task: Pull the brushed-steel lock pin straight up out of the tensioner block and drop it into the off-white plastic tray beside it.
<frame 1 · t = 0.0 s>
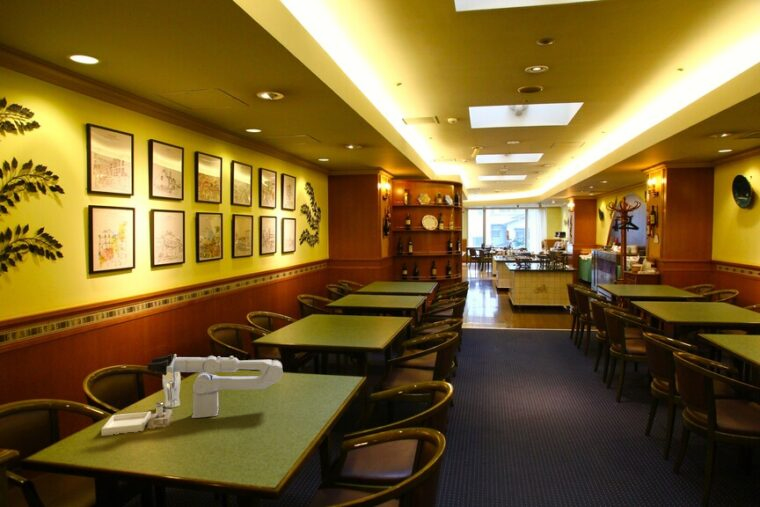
hand: (150, 364, 184), 22 cm above the table, tool horizontal, fingers open, 7 cm apart
tray: (127, 426, 178), on the table
lock pin: (159, 424, 180), resting in tensioner block
beer glass: (172, 405, 199), on the table
tensioner block: (159, 423, 180), on the table
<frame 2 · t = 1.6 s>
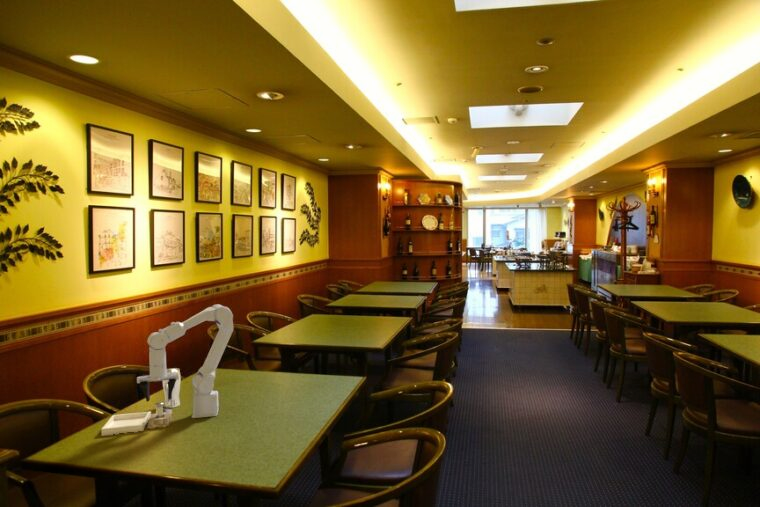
hand: (159, 399, 179), 9 cm above the table, tool pointing down, fingers open, 7 cm apart
nothing on the table moved.
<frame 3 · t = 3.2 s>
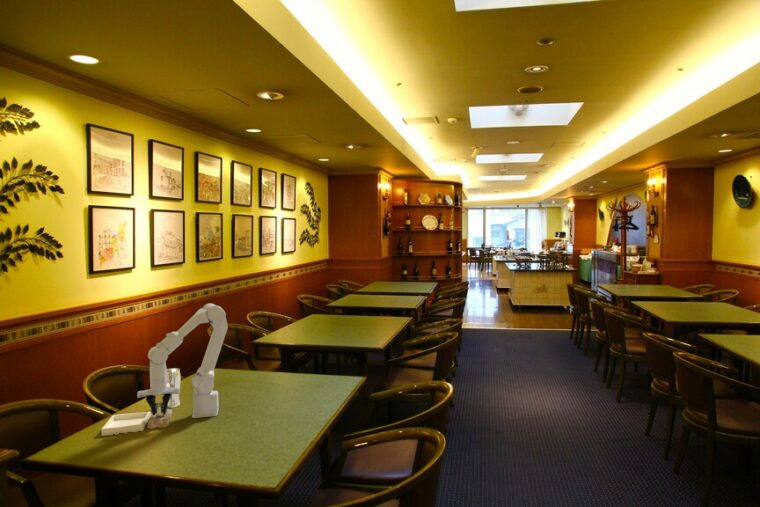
hand: (159, 413, 180), 4 cm above the table, tool pointing down, fingers closed on lock pin, 3 cm apart
lock pin: (159, 424, 180), resting in tensioner block, touching gripper
everything else where it was.
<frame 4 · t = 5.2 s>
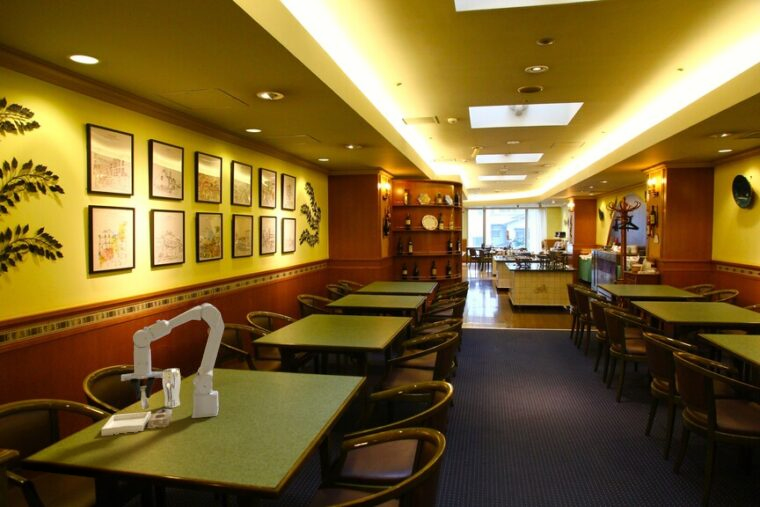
hand: (143, 397, 178), 11 cm above the table, tool pointing down, fingers closed on lock pin, 3 cm apart
lock pin: (145, 408, 179), point 7 cm above the table, touching gripper
everything else where it was.
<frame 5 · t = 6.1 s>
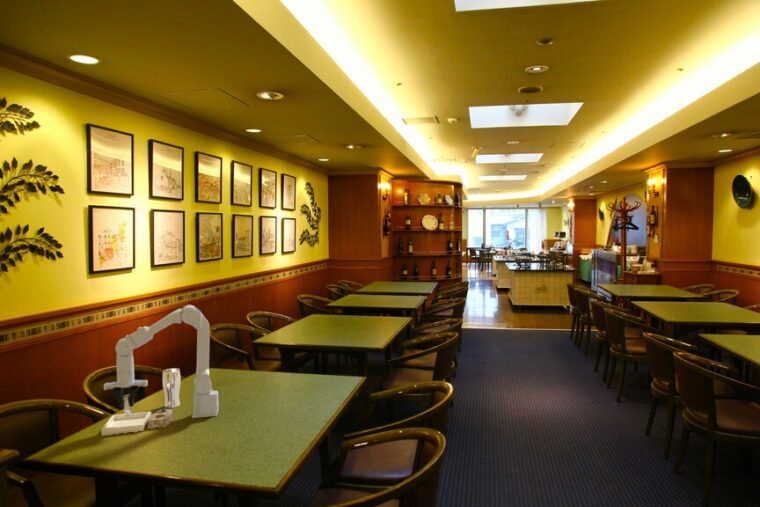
hand: (126, 406, 178), 8 cm above the table, tool pointing down, fingers closed on lock pin, 3 cm apart
lock pin: (129, 416, 178), point 4 cm above the table, touching gripper
everything else where it was.
when the fingers open (6 cm above the table, at t = 7.0 s): lock pin drops 2 cm, resting on tray.
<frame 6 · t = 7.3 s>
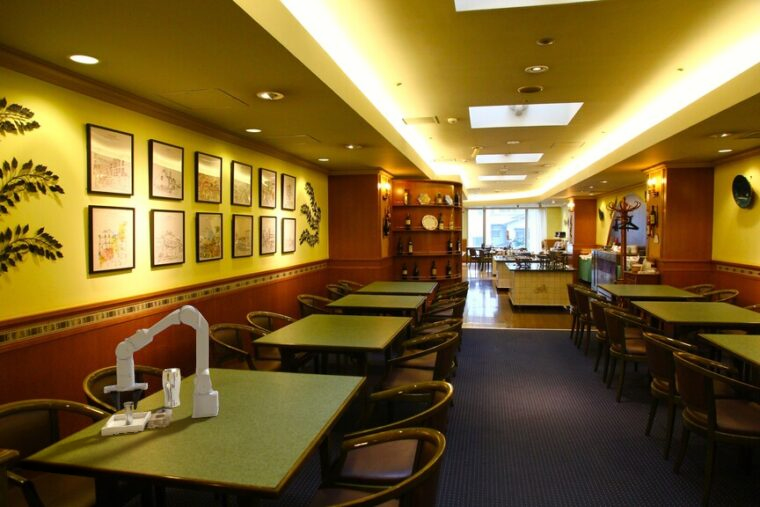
hand: (126, 409, 178), 6 cm above the table, tool pointing down, fingers open, 5 cm apart
lock pin: (129, 424, 178), point 1 cm above the table, touching tray
everything else where it was.
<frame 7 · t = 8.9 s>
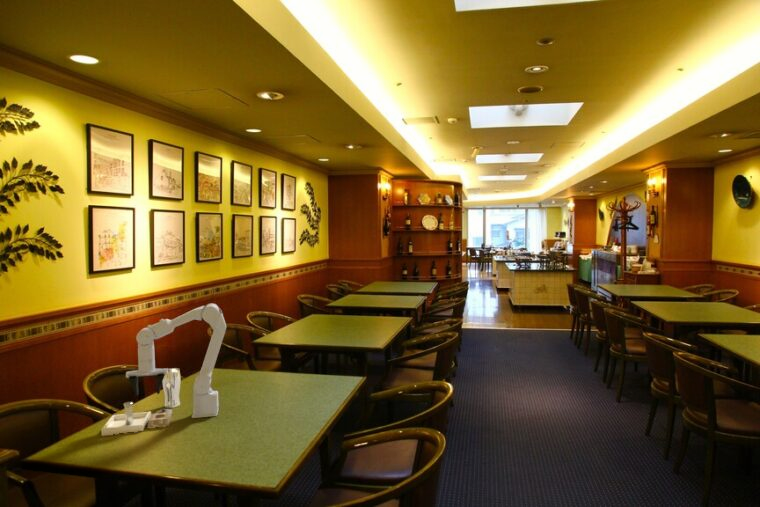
hand: (147, 394, 183), 10 cm above the table, tool pointing down, fingers open, 7 cm apart
nothing on the table moved.
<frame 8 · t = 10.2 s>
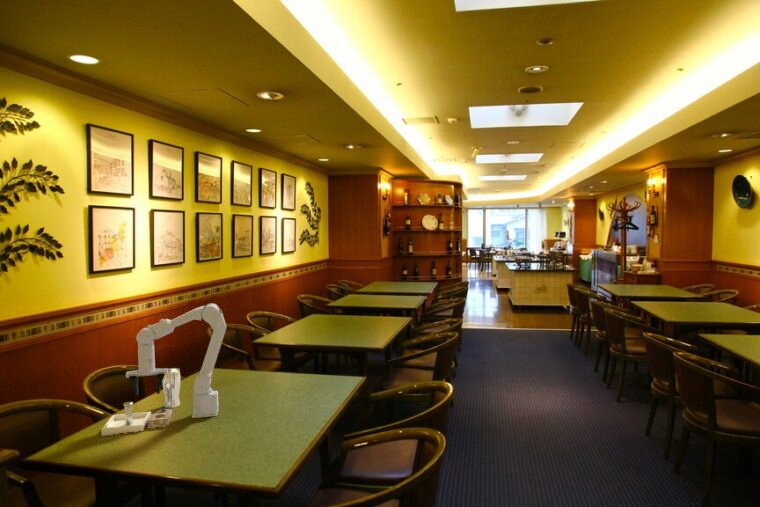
hand: (147, 394, 183), 10 cm above the table, tool pointing down, fingers open, 7 cm apart
nothing on the table moved.
at the end: lock pin inside the target area on the tray (0.6 cm from its centre), point 0.8 cm above the tray's base; the gripper is holding nothing; lock pin moved 11.0 cm from its start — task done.
